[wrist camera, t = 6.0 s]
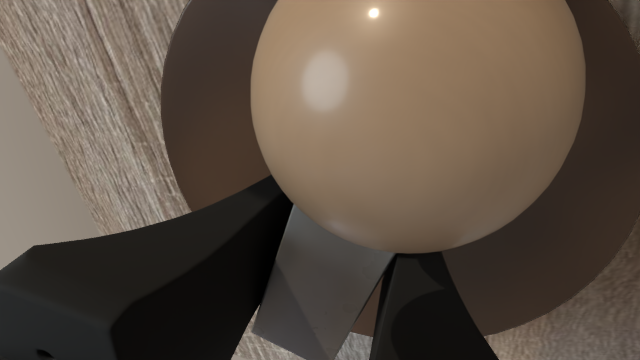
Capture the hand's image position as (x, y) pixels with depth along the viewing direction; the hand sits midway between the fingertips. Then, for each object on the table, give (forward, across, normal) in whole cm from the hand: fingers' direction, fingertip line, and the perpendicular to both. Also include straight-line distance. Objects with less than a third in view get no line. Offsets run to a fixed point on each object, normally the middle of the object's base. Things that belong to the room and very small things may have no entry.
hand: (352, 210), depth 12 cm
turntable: (+3, 0, 0) cm, 3 cm away
